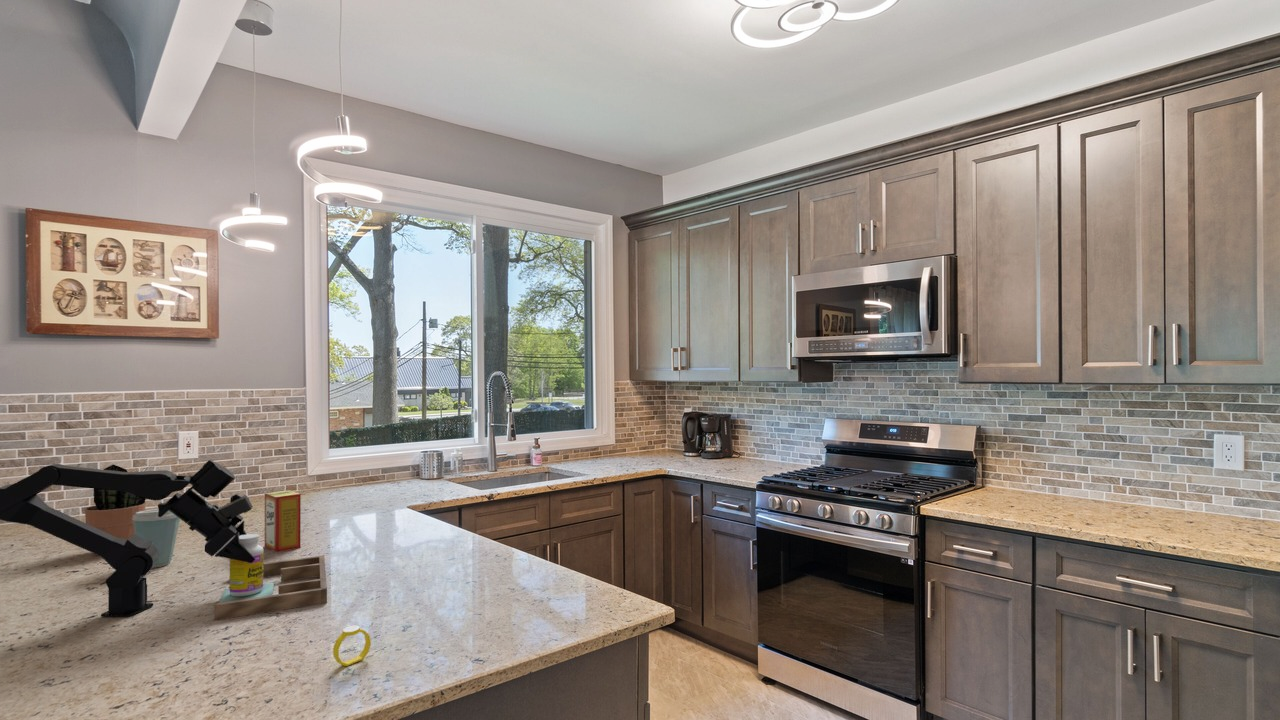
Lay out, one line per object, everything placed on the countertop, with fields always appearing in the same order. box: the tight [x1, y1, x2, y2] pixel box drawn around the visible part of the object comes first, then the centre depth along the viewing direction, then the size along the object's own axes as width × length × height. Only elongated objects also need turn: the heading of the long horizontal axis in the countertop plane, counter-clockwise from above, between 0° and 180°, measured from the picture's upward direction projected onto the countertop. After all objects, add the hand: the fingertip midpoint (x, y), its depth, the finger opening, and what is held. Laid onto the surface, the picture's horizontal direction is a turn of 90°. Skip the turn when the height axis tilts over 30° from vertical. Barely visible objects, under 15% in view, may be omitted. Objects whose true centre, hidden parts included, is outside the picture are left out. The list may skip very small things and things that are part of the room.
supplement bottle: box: [228, 533, 265, 597], centre depth 147 cm, size 7×7×13 cm
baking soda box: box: [264, 489, 302, 553], centre depth 188 cm, size 10×6×16 cm
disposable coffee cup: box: [132, 508, 181, 569], centre depth 171 cm, size 11×11×15 cm
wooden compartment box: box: [213, 555, 328, 621], centre depth 150 cm, size 21×30×3 cm
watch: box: [332, 625, 372, 667], centre depth 111 cm, size 6×3×6 cm, turn 139°
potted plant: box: [84, 463, 147, 539], centre depth 186 cm, size 14×14×25 cm
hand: (255, 555), depth 148 cm, fingers open, 9 cm apart
